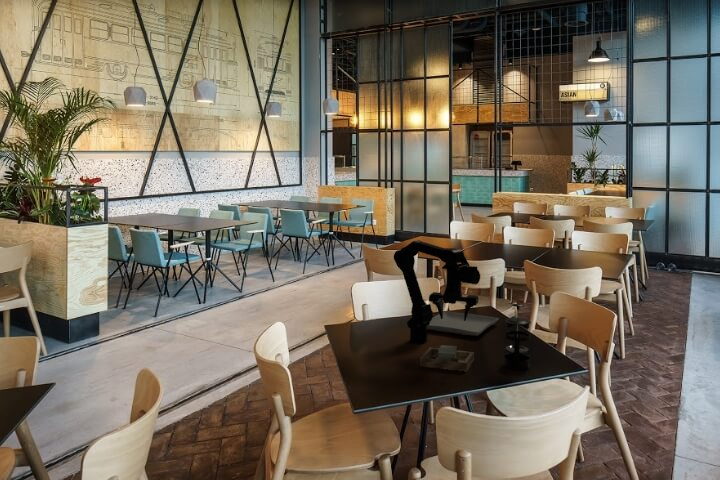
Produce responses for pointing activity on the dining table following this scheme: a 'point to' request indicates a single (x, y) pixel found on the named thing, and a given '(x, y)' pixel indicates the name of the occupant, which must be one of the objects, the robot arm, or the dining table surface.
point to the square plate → (461, 323)
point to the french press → (517, 344)
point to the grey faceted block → (447, 352)
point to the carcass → (458, 363)
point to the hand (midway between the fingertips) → (453, 319)
